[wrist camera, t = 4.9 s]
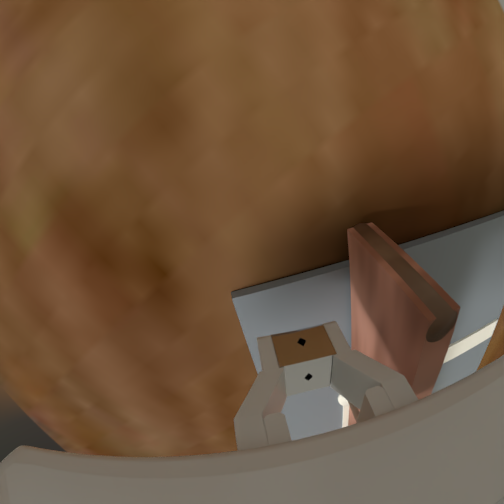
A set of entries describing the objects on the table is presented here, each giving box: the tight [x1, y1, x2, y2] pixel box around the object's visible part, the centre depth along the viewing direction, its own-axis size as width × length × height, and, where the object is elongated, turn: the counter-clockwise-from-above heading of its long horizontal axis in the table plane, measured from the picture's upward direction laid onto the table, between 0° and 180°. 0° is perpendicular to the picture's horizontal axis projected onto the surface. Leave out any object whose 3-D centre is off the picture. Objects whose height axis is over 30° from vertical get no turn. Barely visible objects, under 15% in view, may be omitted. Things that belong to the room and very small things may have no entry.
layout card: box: [231, 210, 504, 441], centre depth 19 cm, size 22×20×1 cm
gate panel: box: [347, 222, 460, 412], centre depth 13 cm, size 12×1×6 cm, turn 12°
